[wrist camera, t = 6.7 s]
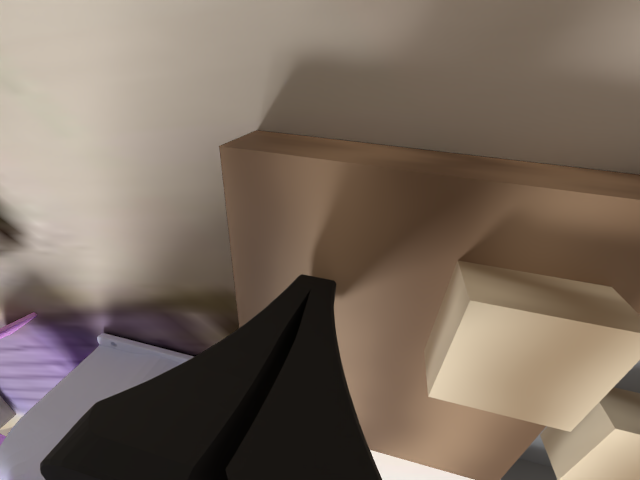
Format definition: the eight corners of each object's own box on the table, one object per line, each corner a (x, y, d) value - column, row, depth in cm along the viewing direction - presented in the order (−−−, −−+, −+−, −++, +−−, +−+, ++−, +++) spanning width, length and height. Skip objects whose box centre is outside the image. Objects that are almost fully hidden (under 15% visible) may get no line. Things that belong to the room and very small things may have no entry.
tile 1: (540, 434, 15) (557, 480, 13) (586, 381, 13) (615, 428, 11) (640, 460, 14) (672, 512, 13) (709, 408, 12) (760, 463, 10)
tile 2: (423, 350, 12) (428, 396, 10) (457, 260, 10) (469, 300, 8) (544, 377, 11) (570, 432, 10) (611, 286, 9) (661, 337, 7)
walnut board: (267, 372, 20) (248, 415, 18) (256, 130, 12) (219, 146, 10) (481, 427, 18) (495, 485, 16) (646, 175, 10) (731, 212, 7)
